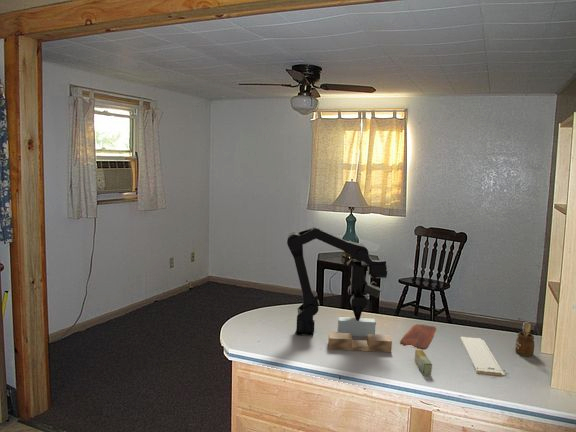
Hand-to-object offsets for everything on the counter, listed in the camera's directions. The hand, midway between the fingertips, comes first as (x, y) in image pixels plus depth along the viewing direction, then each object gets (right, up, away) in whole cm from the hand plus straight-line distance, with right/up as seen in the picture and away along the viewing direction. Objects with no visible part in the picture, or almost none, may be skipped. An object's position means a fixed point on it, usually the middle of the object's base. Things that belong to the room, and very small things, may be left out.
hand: (356, 316), depth 181 cm
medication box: (+18, -11, -27) cm, 34 cm away
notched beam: (-1, -9, -12) cm, 15 cm away
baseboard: (+42, -11, -16) cm, 46 cm away
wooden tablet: (+25, -9, +2) cm, 26 cm away
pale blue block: (0, -7, +1) cm, 7 cm away
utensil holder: (+58, -11, -13) cm, 61 cm away
